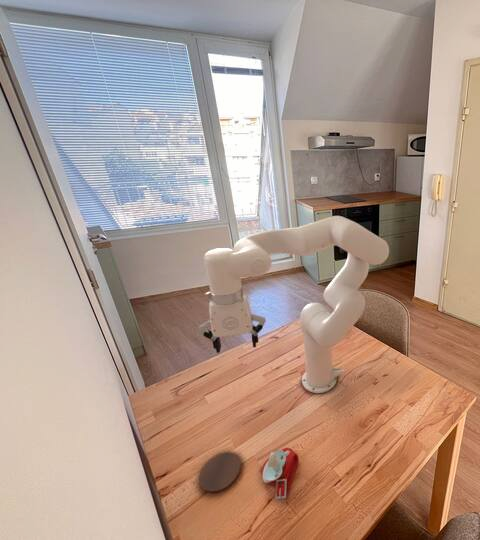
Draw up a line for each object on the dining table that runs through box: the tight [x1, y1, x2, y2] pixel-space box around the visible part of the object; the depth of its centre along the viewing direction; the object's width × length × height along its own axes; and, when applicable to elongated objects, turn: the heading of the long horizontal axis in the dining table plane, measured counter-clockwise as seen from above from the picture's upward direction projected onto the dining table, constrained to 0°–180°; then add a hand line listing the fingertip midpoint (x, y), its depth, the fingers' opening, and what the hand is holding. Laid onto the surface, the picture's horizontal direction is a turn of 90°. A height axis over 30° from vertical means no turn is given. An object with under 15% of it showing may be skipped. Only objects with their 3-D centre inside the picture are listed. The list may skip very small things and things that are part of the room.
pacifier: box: [262, 449, 286, 484], centre depth 74 cm, size 7×6×6 cm
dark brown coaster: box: [198, 451, 242, 494], centre depth 78 cm, size 10×10×1 cm
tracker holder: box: [261, 447, 300, 500], centre depth 77 cm, size 12×4×10 cm
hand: (237, 346), depth 84 cm, fingers open, 9 cm apart
